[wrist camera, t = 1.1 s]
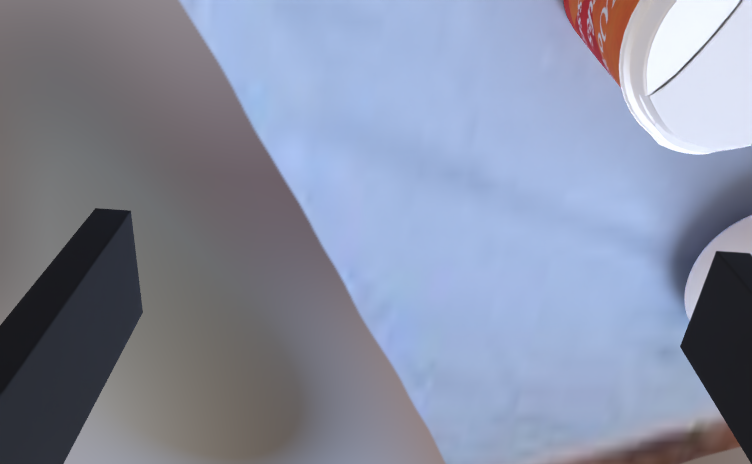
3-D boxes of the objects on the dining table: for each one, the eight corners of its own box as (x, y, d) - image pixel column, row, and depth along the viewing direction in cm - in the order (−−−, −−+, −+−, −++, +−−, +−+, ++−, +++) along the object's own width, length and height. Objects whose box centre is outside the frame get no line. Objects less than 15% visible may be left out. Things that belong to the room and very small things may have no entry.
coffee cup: (581, -117, 35) (707, -103, 21) (722, -65, 36) (922, -22, 23) (517, 40, 38) (590, 133, 25) (646, 82, 40) (779, 192, 26)
